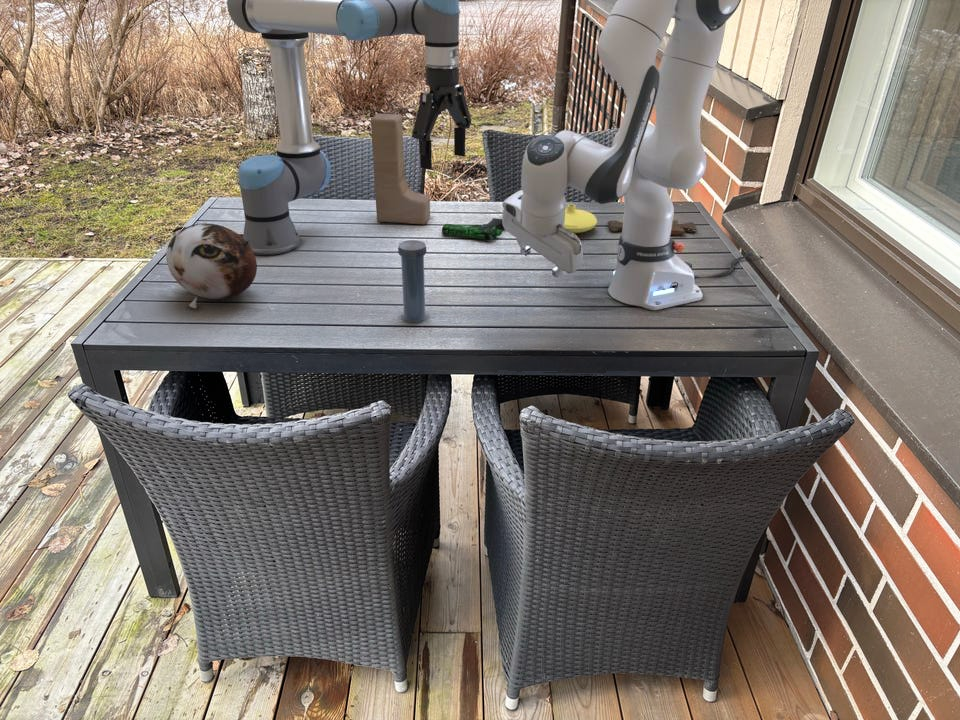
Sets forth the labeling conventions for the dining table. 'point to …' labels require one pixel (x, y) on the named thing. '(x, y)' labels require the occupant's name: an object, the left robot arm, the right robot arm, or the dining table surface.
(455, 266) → the dining table surface
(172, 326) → the dining table surface
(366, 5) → the left robot arm
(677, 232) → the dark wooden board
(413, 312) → the grey cylinder
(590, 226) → the yellow knobbed disc
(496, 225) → the handgun
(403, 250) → the lid
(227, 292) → the cat face balloon
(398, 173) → the decorative block
